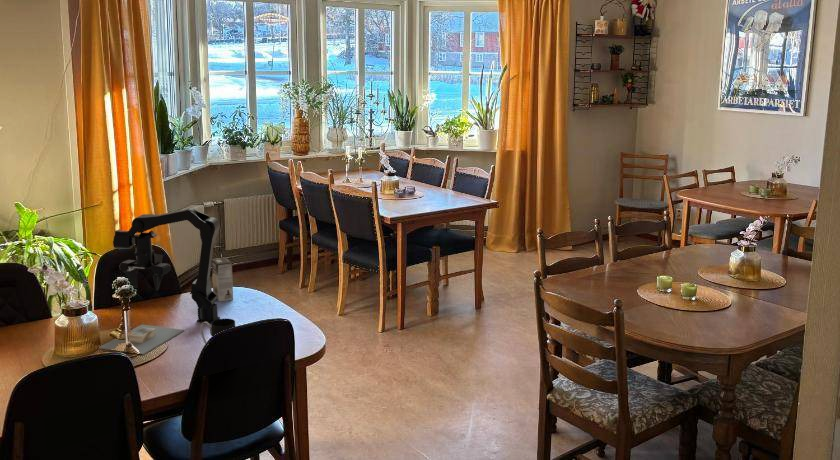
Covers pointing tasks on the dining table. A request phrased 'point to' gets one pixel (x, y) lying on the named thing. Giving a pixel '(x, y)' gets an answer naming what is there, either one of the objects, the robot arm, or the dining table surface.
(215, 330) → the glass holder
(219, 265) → the coffee box
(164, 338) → the grey rectangular board
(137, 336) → the framed mirror
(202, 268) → the robot arm
